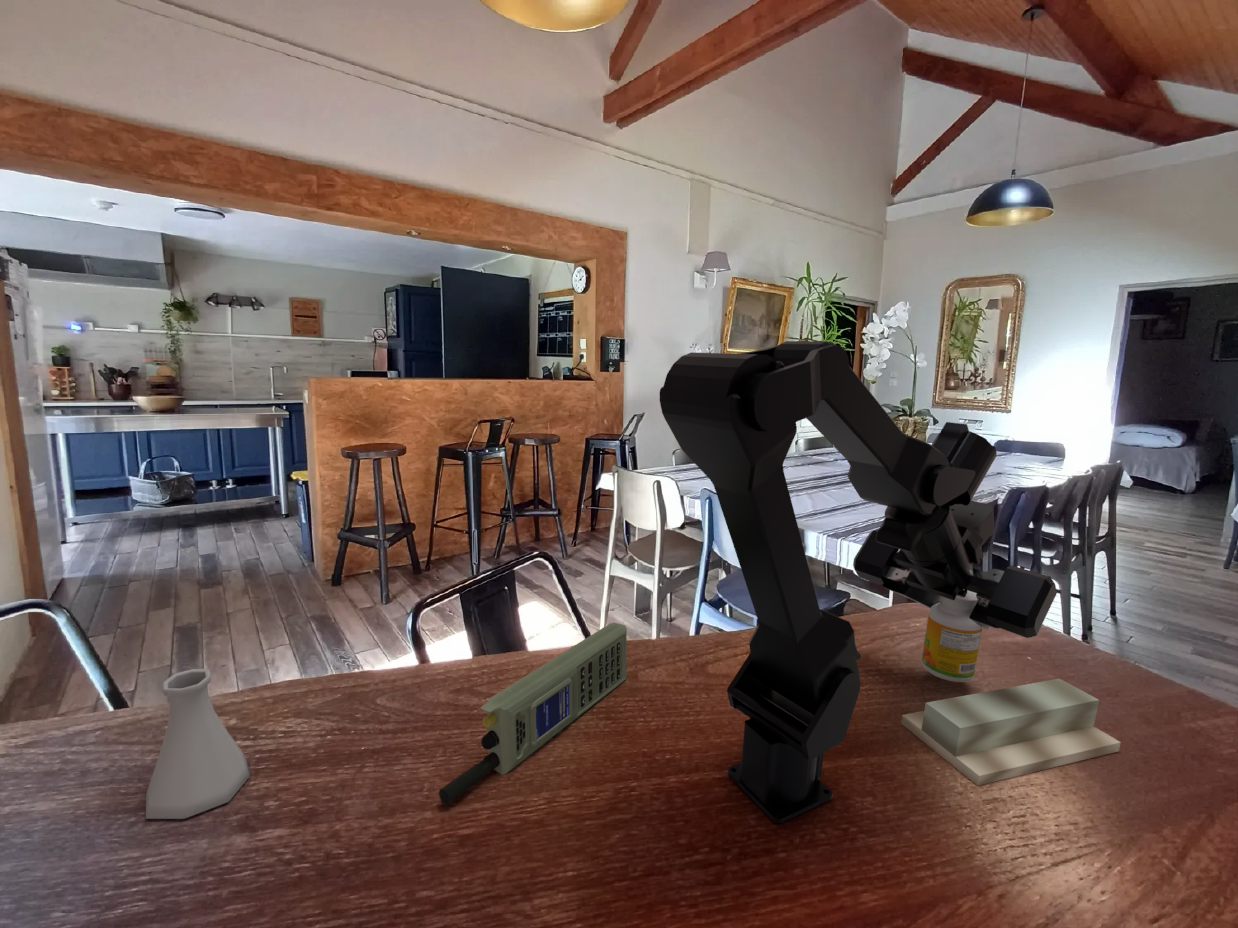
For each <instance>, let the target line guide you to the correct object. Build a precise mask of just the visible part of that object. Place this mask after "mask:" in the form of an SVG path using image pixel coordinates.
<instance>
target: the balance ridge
mask: <svg viewBox="0 0 1238 928" xmlns="http://www.w3.org/2000/svg"><path fill="white" fill-rule="evenodd" d="M1099 702H1100V699H1098V698H1096V697H1094V696H1093V695H1091V694H1089V693H1087V692H1085V691H1084V690H1082V689H1080V688H1077V687H1076V686H1074V685H1072V684H1070V683H1068V682H1067V681H1065V680H1063V679H1061V678H1055V679H1048V680H1042V681H1039V682H1032V683H1027V684H1022V685H1016V686H1010V687H1006V688H1005V687H1004V688H999V689H994V690H988V691H982V692H977V693H973V694H966V695H960V696H956V697H950V698H944V699H943V698H942V699H938V700H933V701H927V702H925V704H924V705H925V706H924V710H921V711H916V712H911V713H906V714H901V715H902V716H901V721H900V722H901V725H902V726H903V727H905V728H906V729H907V730H908V731H910V732H911V733H912V734H913V735H915V736H916V738H918V739H920V740H921V741H922V742H923V743H924V744H926V745H927V746H928V747H930V748H931V749H932V750H933V751H934V752H936V754H938V755H939V756H940V757H941V758H943V759H944V760H945V761H947V762H948V763H949V764H950V765H951V766H952V767H954V768H955V769H956V770H957V771H959V772H960V773H961V774H962V775H964V776H965V777H966V778H968V779H969V780H970V781H971V782H973V784H975V785H976V786H977V787H978V786H982V785H987V784H989V783H994V782H999V781H1002V780H1006V779H1007V780H1008V779H1011V778H1015V777H1019V776H1024V775H1027V774H1031V773H1035V772H1039V771H1044V770H1048V769H1052V768H1057V767H1060V766H1064V765H1068V764H1073V763H1077V762H1081V761H1085V760H1089V759H1094V758H1098V757H1101V756H1106V755H1109V754H1113V753H1119V752H1120V747H1121V741H1120V740H1118V739H1116V738H1115V737H1113V736H1110V734H1108V733H1106V732H1103V731H1102V730H1100V729H1099V728H1098V727H1095V726H1094V725H1095V721H1096V717H1097V711H1098V707H1099Z"/></svg>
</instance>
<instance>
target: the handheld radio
mask: <svg viewBox="0 0 1238 928" xmlns="http://www.w3.org/2000/svg"><path fill="white" fill-rule="evenodd" d="M627 629H628V628H627V626H626V624H621V623H617V622H611V623H608V624H606V625H605V626H604V627H602V628H601V629H599V630H596V632H593V634H591V635H589V636H587V637H586V638H585V639H583V640H581V641H580V642H578V643H577V644H575V645H574V646H571V647H570V648H568V649H566V650H565V651H563V652H561V653H560V654H558V655H557V656H555V657H554V658H553V659H551V660H549V661H548V662H545V663H544V664H543V665H541V666H540V667H538V668H536V669H534V670H533V671H531V672H530V673H528V674H527V675H525V676H523V677H522V678H520V679H518V680H516V682H513V683H512V684H510V685H509V686H507V687H506V688H504V689H502V690H501V691H499V692H497V693H496V694H494V695H492V696H491V697H489V699H487V701H486V703H485V704H483V705H482V706H481V707H480V709H481V711H484V712H485V713H486V716H485V717H483V719H482V721H481V722H482V726H483V727H485V728H486V729H487V733H486V734H485V735H484V736H482V738H481V741H480V743H481V746H482V748H483V749H484V750H488V754H487V755H486V756H484V757H483V760H481V761H479V763H476V764H474V765H473V766H471V767H470V768H469V769H467V770H466V771H464V772H463V773H462V774H460V775H459V776H457V777H456V778H455V779H453V780H452V781H450V782H449V783H447V784H446V785H444V786H443V787H441V788H440V789H439V791H438V796H439V798H440V801H441V802H442V803H443V804H444V805H447V806H448V805H449V804H450V803H452V802H453V801H455V800H456V799H457V798H459V797H460V796H461V795H462V794H464V793H465V792H467V790H469V789H470V788H472V787H473V786H474V785H475V784H477V783H478V782H479V781H481V780H482V779H483V778H485V777H486V774H488V773H489V772H492V771H496V772H497V773H499V774H500V775H506V774H507V773H508V772H510V771H512V770H513V769H514V768H515V767H517V766H518V765H519V764H521V763H522V762H524V760H526V759H527V758H528V757H530V756H531V755H532V754H533V753H535V752H536V751H537V750H538V749H540V748H541V747H542V746H544V745H545V744H546V743H547V742H548V741H550V740H551V739H552V738H554V736H556V735H558V733H560V732H561V731H563V729H565V728H566V727H567V726H569V725H570V724H571V723H573V722H574V721H576V720H577V719H578V718H579V717H580V716H581V715H583V714H584V713H586V712H587V710H589V709H590V708H591V707H593V706H595V705H596V704H597V703H598V702H599V701H601V700H602V699H603V698H604V697H605V696H607V695H608V694H609V693H610V692H612V691H614V690H615V689H616V688H617V687H618V686H619V685H620V684H622V683H623V682H625V680H627V643H628V642H627V638H628V637H627V636H628V635H627Z"/></svg>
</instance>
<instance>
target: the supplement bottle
mask: <svg viewBox="0 0 1238 928" xmlns="http://www.w3.org/2000/svg"><path fill="white" fill-rule="evenodd" d="M976 594H977V593H974V592H971V591H968V590H967V594H966V596H965V597H960V596H956V598H955V599H954V600H951V599H948V598H945V597H942V596H939V595H937V596H938V601H939V603H938V604H935V605H933V606H932V607H931V608H929V610H928V616H927V622H926V623H927V624H926V629H925V634H924V636H925V637H924V642H923V647H922V648H923V649H922V655H921V664H922V665H921V666H923V669H925V670H926V671H927V672H928V673H929V674H931V675H933V676H935V677H936V678H939V679H942V680H945V681H948V682H949V681H950V682H955V683H966V682H970V681H972V680H973V678H974V676H975V672H976V668H977V667H976V665H977V660H978V655H979V648H980V642H981V636H982V630H983V627H981V626H980V625H978V624H977V623H975V622H974V621H972V620H971V619H969V617H970V615H971V613H972V611H973V609H974V607H975V605H976V603H977V601H978V599H977V597H976Z"/></svg>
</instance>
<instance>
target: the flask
mask: <svg viewBox="0 0 1238 928" xmlns="http://www.w3.org/2000/svg"><path fill="white" fill-rule="evenodd" d="M211 680H212V677H211V671H210V668H192V669H188V670H183V671H180V672H179V671H178V672H176V673H173V674H172V675H171V676H169V677H168V678H167V679H165V680H164V681H163V682H162V694H163V696H165V697H167V698H168V702H169V703H168V705H169V706H168V707H169V709H168V718H167V726H166V730H165V734H164V737H163V741H162V744H161V747H160V752H159V755H158V757H157V761H156V764H155V767H154V769H153V773H152V775H151V778H150V781H149V784H148V788H147V791H146V795H145V819H152V820H153V819H154V820H155V819H158V820H159V819H160V820H161V819H163V820H167V819H169V820H170V819H171V820H172V819H173V820H174V819H176V820H184V819H188V818H190V817H193V816H195V815H197V814H200V813H201V814H202V813H203V812H206V811H209V810H211V809H213V808H214V809H215V808H217V807H219V806H221V805H224V804H226V803H229V802H230V801H231V800H232V799H233V797H234V796H235V795H236V794H237V792H238V791H239V790H240V789H241V788H242V786H243V785H244V784H245V783H246V782H247V780H248V779H249V778H250V776H251V775H250V769H249V765H248V762H247V757H246V755H245V754H244V753H243V750H241V748H240V746H239V745H238V744H237V743H236V741H235V739H234V738H233V737H232V736H231V734H230V733H229V731H228V730H227V728H226V726H225V725H224V723H223V722H222V721H221V719H220V717H219V716H218V714H217V712H216V711H215V708H214V705H213V703H212V700H211V697H210V695H209V689H208V688H209V684H210V683H211Z"/></svg>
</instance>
